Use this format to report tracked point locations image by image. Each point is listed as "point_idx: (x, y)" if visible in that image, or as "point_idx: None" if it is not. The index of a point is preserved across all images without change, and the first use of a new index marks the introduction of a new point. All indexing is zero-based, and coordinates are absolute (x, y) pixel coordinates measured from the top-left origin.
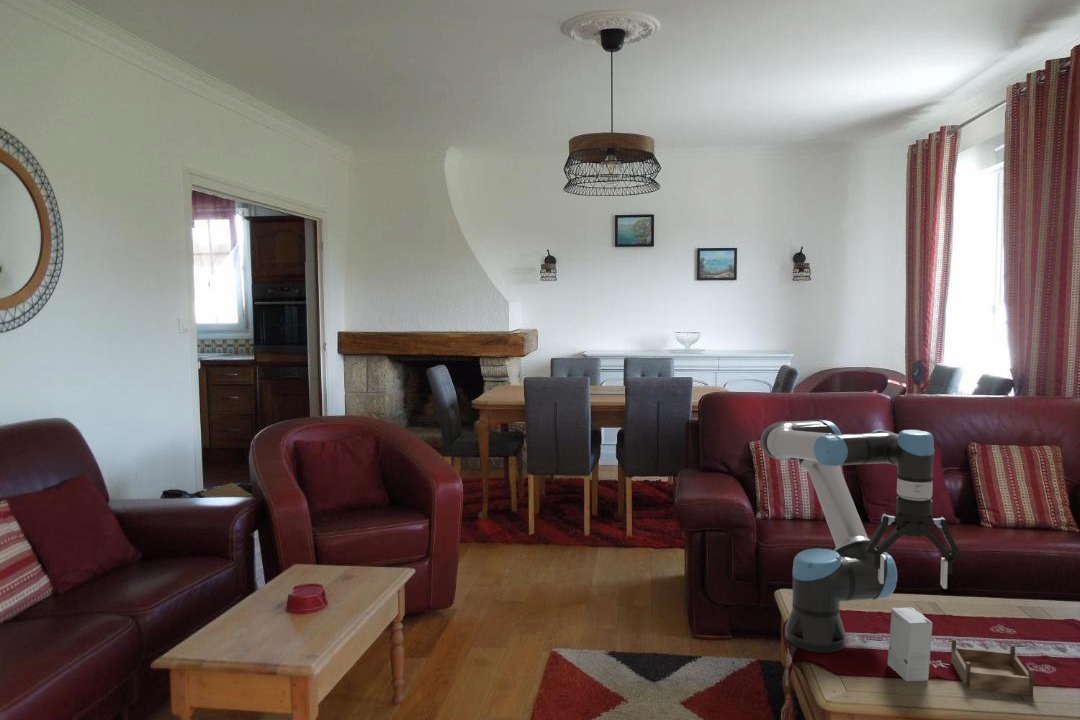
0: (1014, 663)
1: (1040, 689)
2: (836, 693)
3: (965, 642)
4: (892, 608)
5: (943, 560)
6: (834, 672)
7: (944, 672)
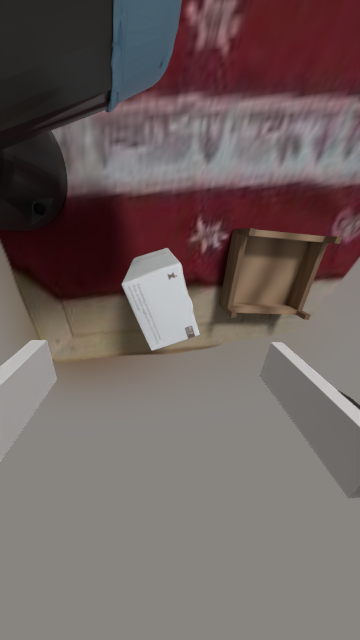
0: (310, 257)
1: None
2: (60, 345)
3: (296, 133)
4: (123, 286)
5: (358, 489)
6: (54, 294)
7: (210, 265)
